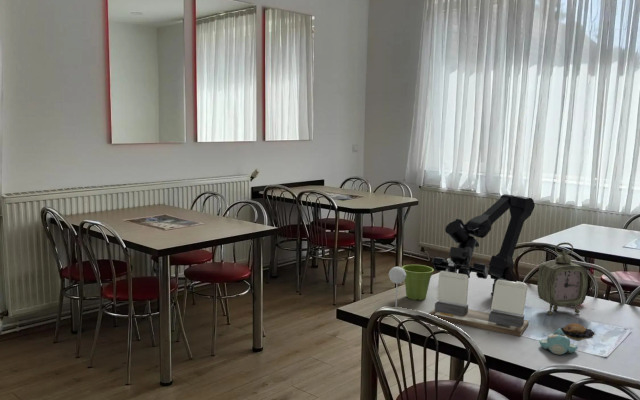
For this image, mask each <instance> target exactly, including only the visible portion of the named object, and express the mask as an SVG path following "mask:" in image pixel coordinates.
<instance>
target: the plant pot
mask: <svg viewBox="0 0 640 400" xmlns="http://www.w3.org/2000/svg"><path fill="white" fill-rule="evenodd" d="M401 268H403V269H404V271H405V273H406V277H405V280H404V283H405V284H404V285H405V293H406V294H405V295H406V297H407V299H410V300H413V301H417V300H419V301H422V300H425V299H426V298H427V295H428V291H429V287H430V286H429V285H430V281H431V278H432V276H433V272H434V271H435V269H434V267H431V266H427V265H423V264H406V265H402V267H401Z"/></svg>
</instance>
